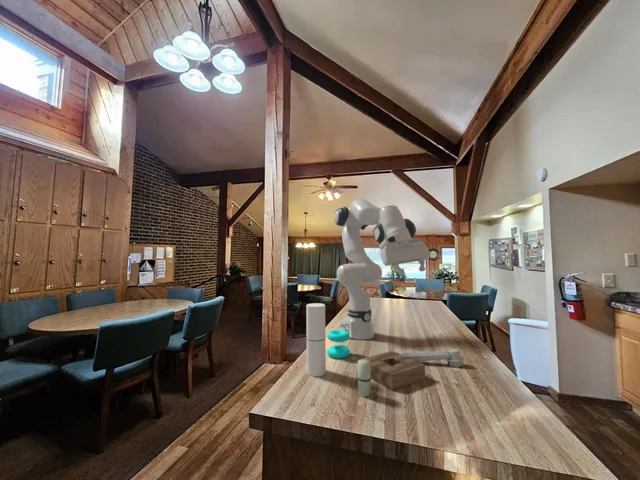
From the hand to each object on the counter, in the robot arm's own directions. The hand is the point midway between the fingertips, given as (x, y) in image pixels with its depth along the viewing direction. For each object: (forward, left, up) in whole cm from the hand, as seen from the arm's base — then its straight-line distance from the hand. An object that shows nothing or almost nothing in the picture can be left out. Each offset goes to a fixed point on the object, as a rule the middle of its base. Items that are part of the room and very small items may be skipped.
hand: (412, 272), depth 106 cm
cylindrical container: (-18, -33, -37) cm, 53 cm away
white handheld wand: (-2, +10, -37) cm, 39 cm away
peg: (+4, -28, -37) cm, 46 cm away
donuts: (-28, -16, -37) cm, 49 cm away
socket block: (-1, -11, -37) cm, 38 cm away
